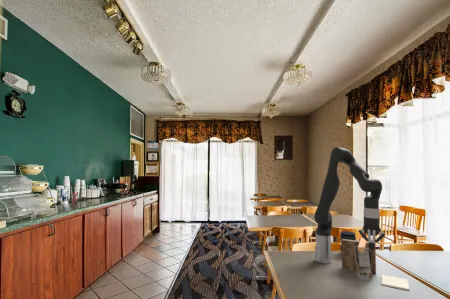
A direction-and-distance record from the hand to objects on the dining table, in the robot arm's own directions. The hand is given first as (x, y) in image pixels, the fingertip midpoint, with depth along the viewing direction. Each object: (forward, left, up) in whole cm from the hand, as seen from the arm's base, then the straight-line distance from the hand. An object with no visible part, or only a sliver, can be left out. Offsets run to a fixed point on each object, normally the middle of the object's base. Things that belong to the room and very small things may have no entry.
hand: (371, 249), depth 144 cm
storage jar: (-17, +48, -18) cm, 54 cm away
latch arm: (-5, +7, -1) cm, 8 cm away
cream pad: (+10, +8, -18) cm, 22 cm away
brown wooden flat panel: (-8, +17, -18) cm, 26 cm away
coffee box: (-5, +7, -18) cm, 20 cm away
